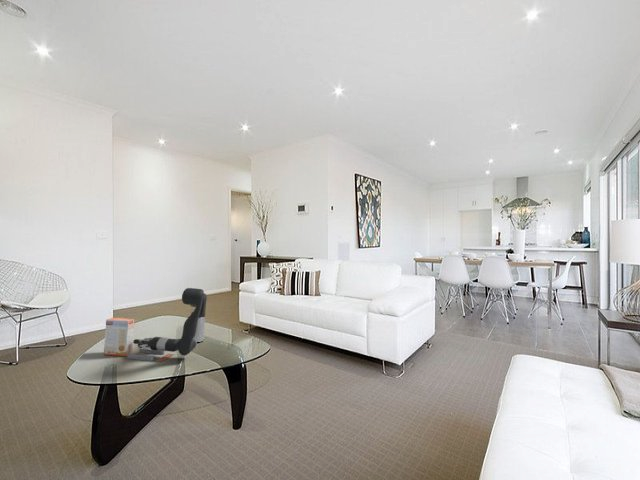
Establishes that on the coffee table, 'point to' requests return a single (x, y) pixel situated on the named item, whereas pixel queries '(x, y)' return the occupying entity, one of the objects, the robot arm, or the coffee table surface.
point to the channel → (145, 356)
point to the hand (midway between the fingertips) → (134, 341)
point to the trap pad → (164, 357)
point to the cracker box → (119, 336)
